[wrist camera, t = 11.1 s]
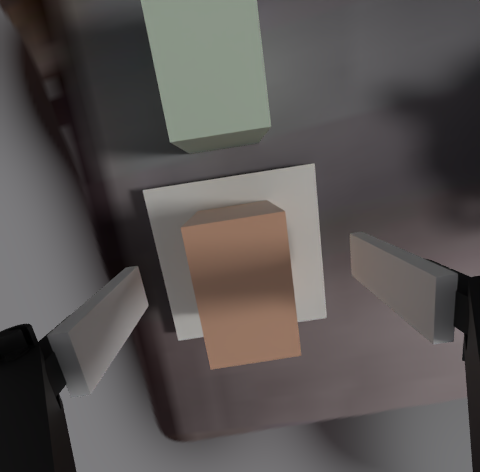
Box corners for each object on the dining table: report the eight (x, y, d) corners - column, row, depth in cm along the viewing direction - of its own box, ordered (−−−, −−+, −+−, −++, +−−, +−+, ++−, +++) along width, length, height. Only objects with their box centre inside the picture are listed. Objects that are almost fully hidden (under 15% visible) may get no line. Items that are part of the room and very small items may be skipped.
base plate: (148, 189, 18) (142, 190, 17) (309, 164, 18) (314, 163, 17) (181, 331, 21) (178, 340, 20) (321, 310, 21) (326, 317, 20)
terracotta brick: (197, 211, 18) (180, 227, 12) (267, 200, 18) (285, 210, 12) (217, 311, 19) (210, 369, 14) (280, 302, 19) (301, 355, 13)
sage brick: (166, 26, 16) (128, -60, 10) (241, 14, 16) (247, -79, 10) (190, 154, 18) (169, 142, 12) (258, 143, 18) (270, 126, 12)
